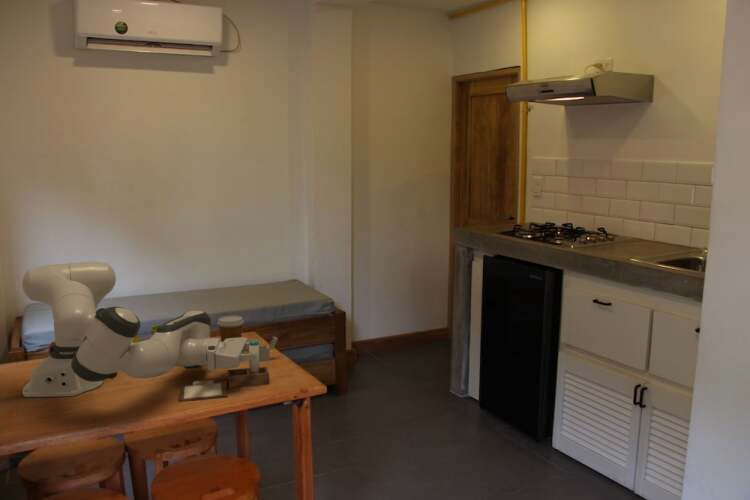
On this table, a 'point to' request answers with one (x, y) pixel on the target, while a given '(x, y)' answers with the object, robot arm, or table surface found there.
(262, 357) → the lighter
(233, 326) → the disposable coffee cup
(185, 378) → the table surface
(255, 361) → the marker
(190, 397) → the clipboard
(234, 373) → the box
